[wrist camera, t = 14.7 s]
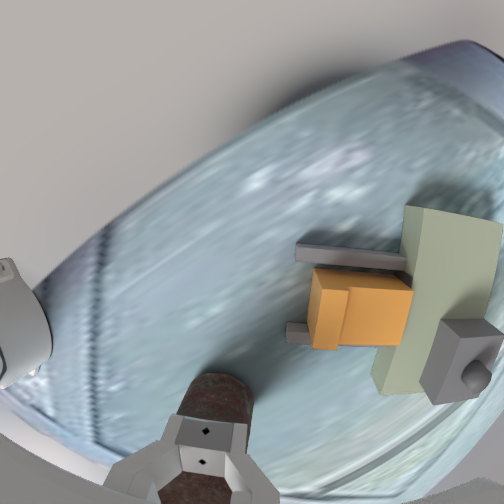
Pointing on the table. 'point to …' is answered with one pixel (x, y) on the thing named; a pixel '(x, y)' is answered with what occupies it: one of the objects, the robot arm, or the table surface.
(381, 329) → the orange lidded box
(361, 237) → the table surface
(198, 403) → the candle
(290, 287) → the table surface
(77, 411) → the table surface
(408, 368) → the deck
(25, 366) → the robot arm
